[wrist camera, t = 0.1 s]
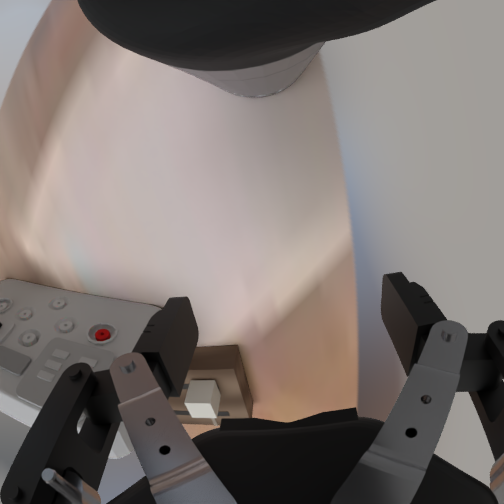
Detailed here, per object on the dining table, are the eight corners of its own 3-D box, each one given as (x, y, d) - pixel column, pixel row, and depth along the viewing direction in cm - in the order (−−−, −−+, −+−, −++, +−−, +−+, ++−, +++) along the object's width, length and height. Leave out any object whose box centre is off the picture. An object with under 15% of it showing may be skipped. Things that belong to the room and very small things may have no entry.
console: (100, 346, 38) (89, 366, 35) (237, 344, 36) (233, 368, 32) (133, 400, 43) (125, 418, 40) (253, 403, 41) (251, 425, 37)
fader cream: (190, 380, 33) (184, 402, 30) (214, 380, 33) (210, 403, 30) (197, 395, 35) (192, 417, 31) (220, 395, 34) (216, 418, 31)
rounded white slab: (170, 290, 33) (106, 424, 17) (175, 340, 36) (131, 466, 20) (0, 262, 34) (-77, 331, 18) (14, 304, 37) (-50, 377, 21)
